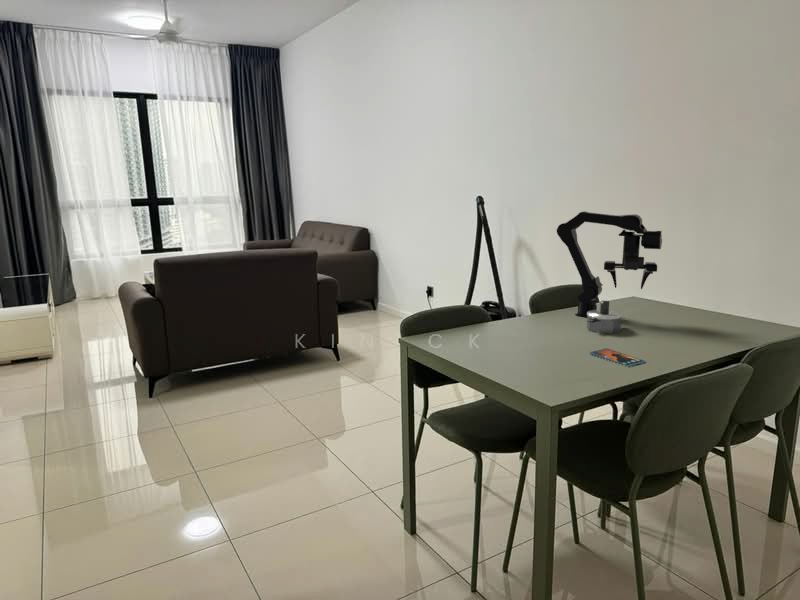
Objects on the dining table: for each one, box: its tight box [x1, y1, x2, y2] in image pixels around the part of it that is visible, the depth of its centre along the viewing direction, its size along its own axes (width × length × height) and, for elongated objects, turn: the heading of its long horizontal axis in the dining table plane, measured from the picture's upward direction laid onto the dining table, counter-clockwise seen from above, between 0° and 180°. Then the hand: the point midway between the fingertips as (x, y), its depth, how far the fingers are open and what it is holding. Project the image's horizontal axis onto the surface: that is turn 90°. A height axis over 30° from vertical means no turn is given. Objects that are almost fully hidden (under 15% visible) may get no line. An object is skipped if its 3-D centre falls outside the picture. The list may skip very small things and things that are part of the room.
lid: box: [587, 300, 623, 320], centre depth 204 cm, size 12×12×6 cm
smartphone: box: [589, 347, 647, 368], centre depth 173 cm, size 8×1×15 cm
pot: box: [586, 316, 622, 334], centre depth 205 cm, size 11×16×5 cm
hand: (628, 288), depth 216 cm, fingers open, 9 cm apart
